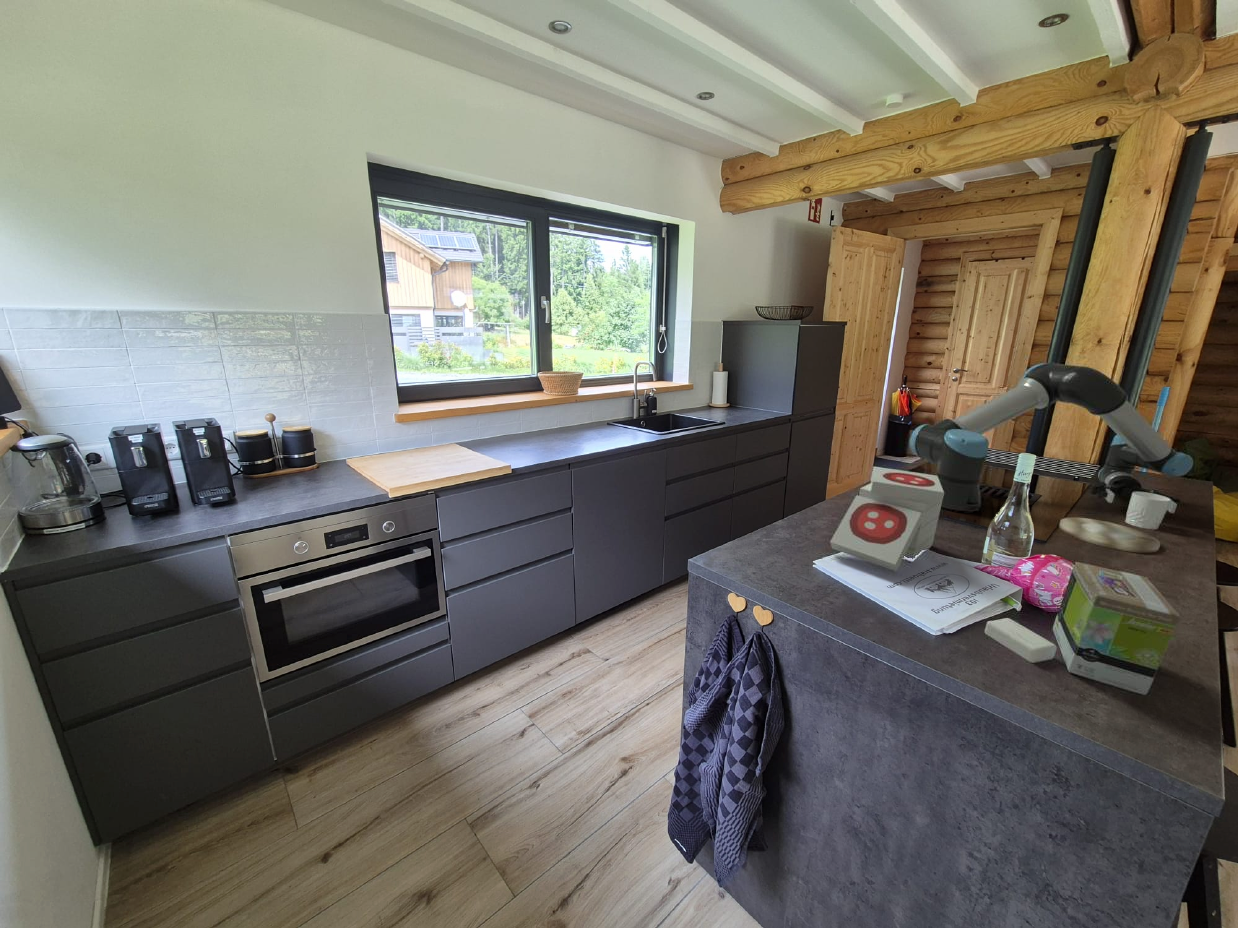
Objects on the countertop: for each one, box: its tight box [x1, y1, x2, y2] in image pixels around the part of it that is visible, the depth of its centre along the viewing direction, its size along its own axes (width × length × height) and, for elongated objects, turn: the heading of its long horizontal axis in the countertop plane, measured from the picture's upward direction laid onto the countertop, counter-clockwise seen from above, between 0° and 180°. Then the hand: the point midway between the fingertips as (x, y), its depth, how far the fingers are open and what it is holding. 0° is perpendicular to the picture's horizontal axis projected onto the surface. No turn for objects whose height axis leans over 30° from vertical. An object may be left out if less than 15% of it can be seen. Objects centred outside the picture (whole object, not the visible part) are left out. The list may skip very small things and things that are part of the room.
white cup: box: [1124, 492, 1171, 530], centre depth 145 cm, size 8×8×10 cm
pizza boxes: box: [830, 466, 944, 572], centre depth 124 cm, size 19×30×18 cm, turn 133°
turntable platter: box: [1058, 516, 1161, 554], centre depth 137 cm, size 20×20×2 cm
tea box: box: [1052, 561, 1181, 696], centre depth 84 cm, size 15×10×15 cm, turn 148°
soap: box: [984, 617, 1058, 664], centre depth 89 cm, size 9×6×3 cm, turn 15°
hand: (1142, 503), depth 150 cm, fingers open, 13 cm apart
